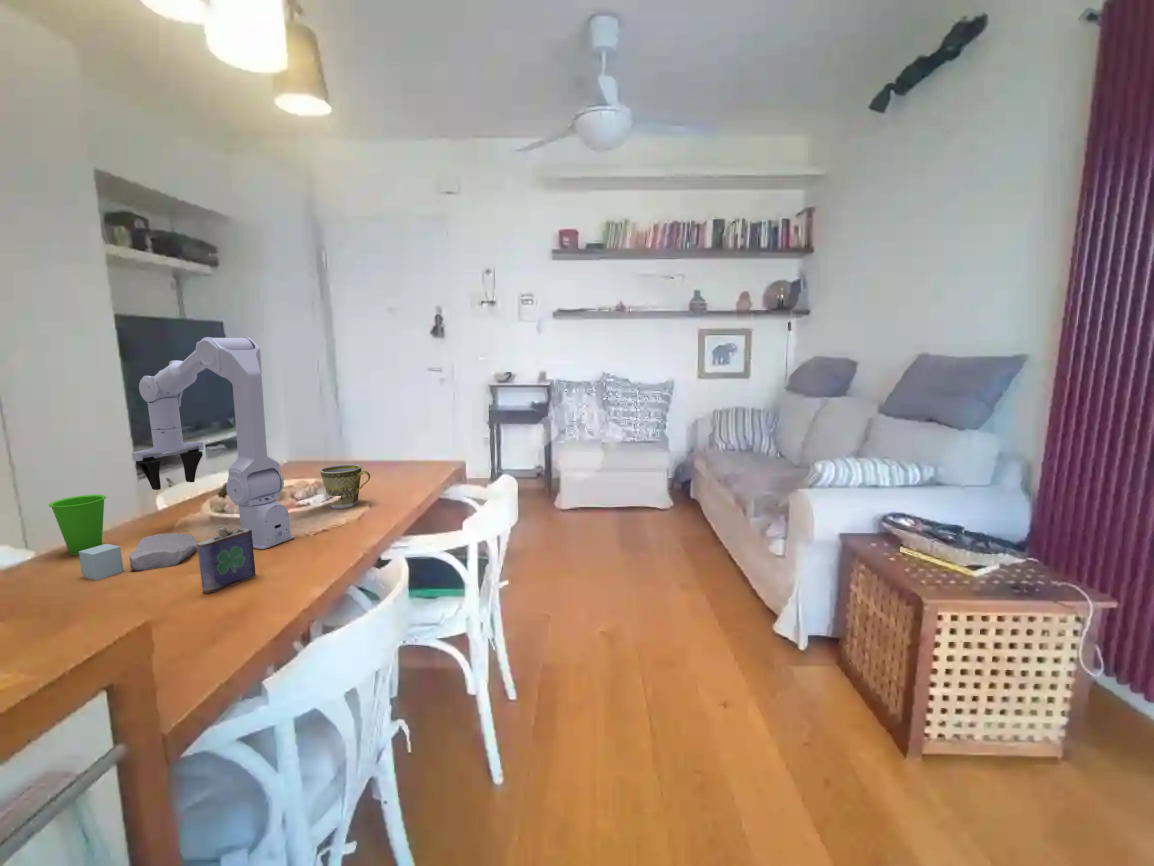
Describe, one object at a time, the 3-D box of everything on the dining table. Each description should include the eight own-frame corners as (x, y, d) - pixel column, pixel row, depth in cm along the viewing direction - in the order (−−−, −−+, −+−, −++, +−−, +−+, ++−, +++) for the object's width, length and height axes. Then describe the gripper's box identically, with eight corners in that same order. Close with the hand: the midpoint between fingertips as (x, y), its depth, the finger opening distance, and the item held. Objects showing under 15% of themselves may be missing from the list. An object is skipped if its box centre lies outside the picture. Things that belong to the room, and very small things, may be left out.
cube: (123, 571, 110) (120, 546, 109) (96, 580, 106) (92, 554, 105) (109, 568, 112) (106, 543, 111) (82, 577, 108) (78, 551, 107)
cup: (110, 540, 128) (103, 492, 126) (115, 550, 121) (108, 499, 119) (56, 551, 121) (47, 500, 120) (58, 562, 115) (50, 509, 113)
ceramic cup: (315, 510, 149) (312, 472, 147) (337, 499, 158) (334, 463, 157) (362, 511, 146) (359, 473, 145) (381, 501, 156) (378, 464, 155)
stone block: (198, 554, 124) (141, 552, 119) (201, 532, 123) (144, 530, 119) (188, 576, 113) (125, 575, 109) (191, 552, 113) (128, 550, 108)
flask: (207, 595, 99) (200, 534, 97) (198, 591, 100) (190, 532, 98) (259, 575, 107) (253, 519, 105) (249, 573, 108) (243, 517, 106)
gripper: (187, 423, 141) (194, 477, 143) (120, 431, 128) (129, 491, 130) (206, 424, 138) (212, 479, 140) (139, 433, 125) (148, 494, 127)
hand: (173, 485), depth 135 cm, fingers open, 7 cm apart
